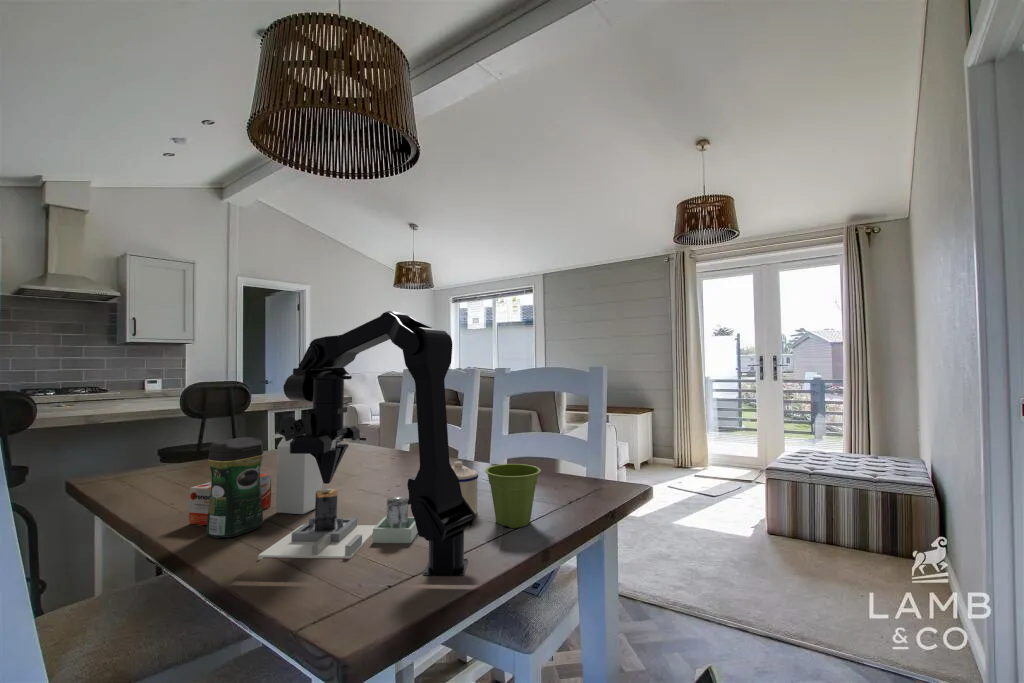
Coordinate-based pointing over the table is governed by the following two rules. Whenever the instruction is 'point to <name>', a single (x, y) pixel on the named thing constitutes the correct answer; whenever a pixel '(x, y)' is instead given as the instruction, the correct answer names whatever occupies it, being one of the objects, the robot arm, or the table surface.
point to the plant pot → (513, 492)
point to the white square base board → (321, 542)
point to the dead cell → (397, 512)
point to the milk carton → (296, 480)
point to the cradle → (339, 526)
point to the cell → (326, 509)
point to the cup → (394, 532)
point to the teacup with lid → (467, 484)
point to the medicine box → (202, 499)
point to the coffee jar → (235, 487)
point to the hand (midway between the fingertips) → (326, 483)
